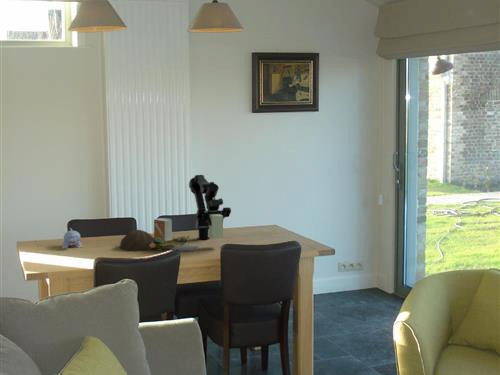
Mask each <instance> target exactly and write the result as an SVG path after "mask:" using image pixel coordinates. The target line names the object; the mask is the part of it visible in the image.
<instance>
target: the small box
mask: <svg viewBox="0 0 500 375" xmlns="http://www.w3.org/2000/svg"><path fill="white" fill-rule="evenodd" d="M153 220H154V221H153V238H164V239H165V240H166V241H167V240H172V239H173V238H172V236H173V234H172V231H173V230H172V229H173V228H172V227H173V226H172V224H173V223H172V222H173V220H172V219H171V218H162V217H159V218H156V219H153ZM172 241H173V240H172Z"/></svg>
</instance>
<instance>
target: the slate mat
mask: <svg viewBox="0 0 500 375" xmlns="http://www.w3.org/2000/svg"><path fill="white" fill-rule="evenodd" d="M198 247H199V246H198V245H187V244H186V245H183V246H179V247H175V246H173V247H172V248H170V250H178V251H177V252H189V253H190V252H194V251H195V250H196V249H197V248H198ZM170 250H169V251H170Z"/></svg>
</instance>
